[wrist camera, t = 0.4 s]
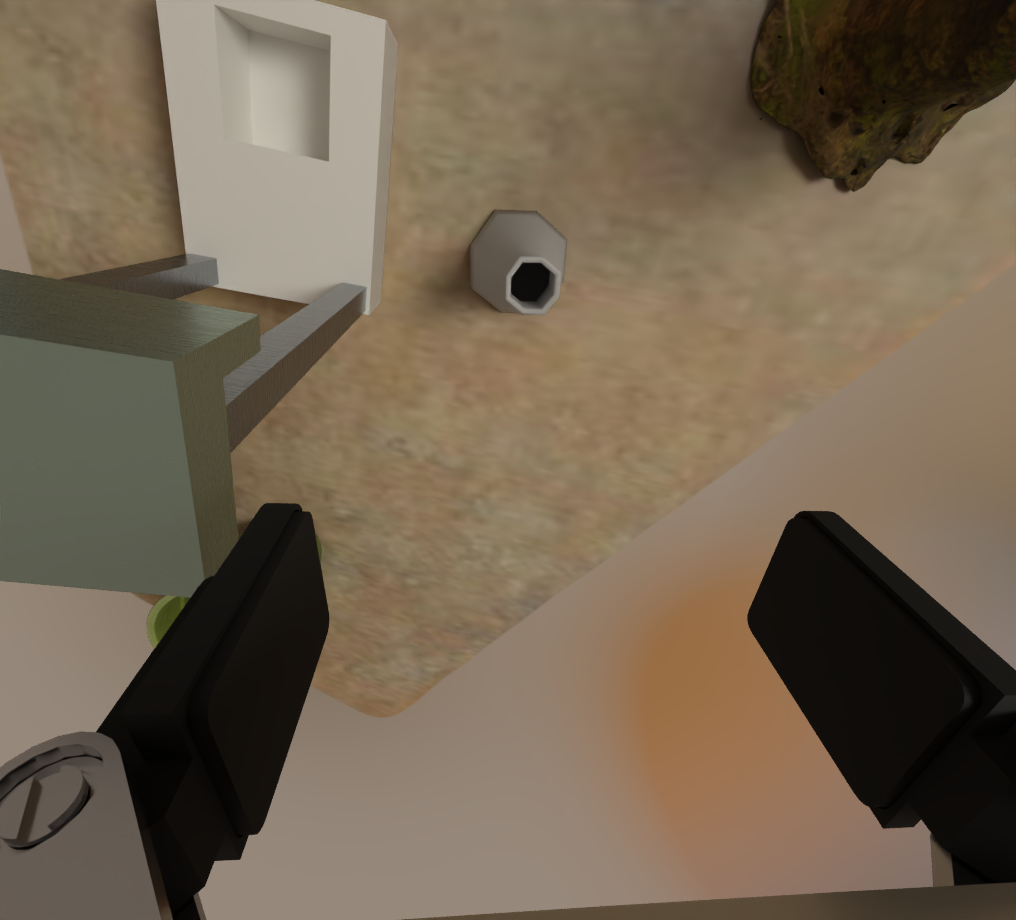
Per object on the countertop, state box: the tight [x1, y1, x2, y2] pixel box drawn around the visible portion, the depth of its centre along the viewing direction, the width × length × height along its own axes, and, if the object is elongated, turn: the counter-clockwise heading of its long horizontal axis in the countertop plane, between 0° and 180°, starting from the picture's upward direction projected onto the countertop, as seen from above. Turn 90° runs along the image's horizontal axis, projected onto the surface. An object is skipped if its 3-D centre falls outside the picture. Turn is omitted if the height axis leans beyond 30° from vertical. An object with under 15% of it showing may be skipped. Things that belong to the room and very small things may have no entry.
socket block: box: [156, 0, 398, 315], centre depth 29 cm, size 15×11×4 cm
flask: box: [470, 210, 567, 315], centre depth 30 cm, size 7×7×10 cm
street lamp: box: [0, 253, 367, 598], centre depth 18 cm, size 5×14×25 cm, turn 79°
